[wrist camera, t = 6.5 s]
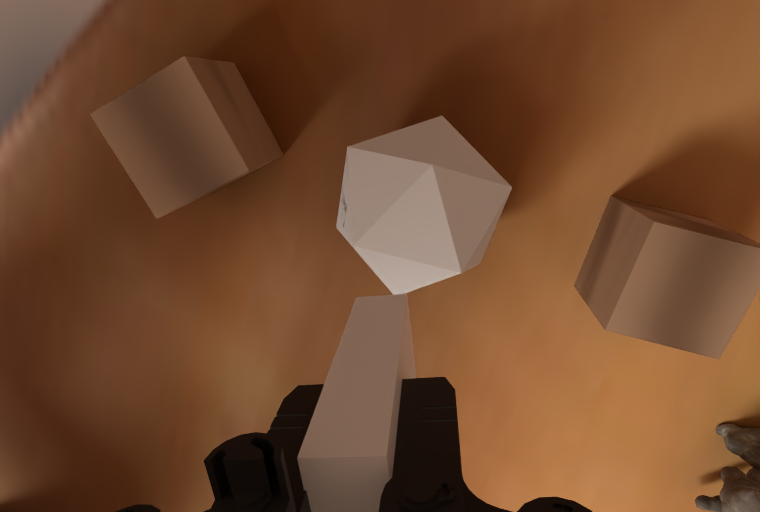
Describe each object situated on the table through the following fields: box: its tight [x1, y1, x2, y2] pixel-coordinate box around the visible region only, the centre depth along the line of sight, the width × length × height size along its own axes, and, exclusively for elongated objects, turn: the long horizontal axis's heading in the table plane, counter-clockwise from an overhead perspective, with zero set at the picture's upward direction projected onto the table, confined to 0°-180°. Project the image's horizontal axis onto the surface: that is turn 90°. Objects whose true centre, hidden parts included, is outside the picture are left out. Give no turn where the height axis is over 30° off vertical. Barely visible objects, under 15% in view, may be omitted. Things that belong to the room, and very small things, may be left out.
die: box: [336, 116, 512, 295], centre depth 26 cm, size 8×9×10 cm
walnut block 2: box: [574, 196, 760, 359], centre depth 26 cm, size 6×6×6 cm
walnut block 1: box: [90, 56, 284, 219], centre depth 27 cm, size 6×6×6 cm
